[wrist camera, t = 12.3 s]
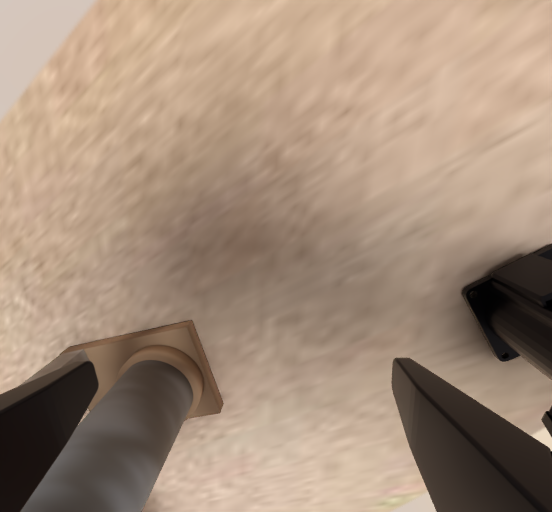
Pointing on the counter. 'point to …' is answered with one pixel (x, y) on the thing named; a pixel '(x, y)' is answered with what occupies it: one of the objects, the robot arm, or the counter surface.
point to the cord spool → (124, 437)
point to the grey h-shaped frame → (119, 349)
